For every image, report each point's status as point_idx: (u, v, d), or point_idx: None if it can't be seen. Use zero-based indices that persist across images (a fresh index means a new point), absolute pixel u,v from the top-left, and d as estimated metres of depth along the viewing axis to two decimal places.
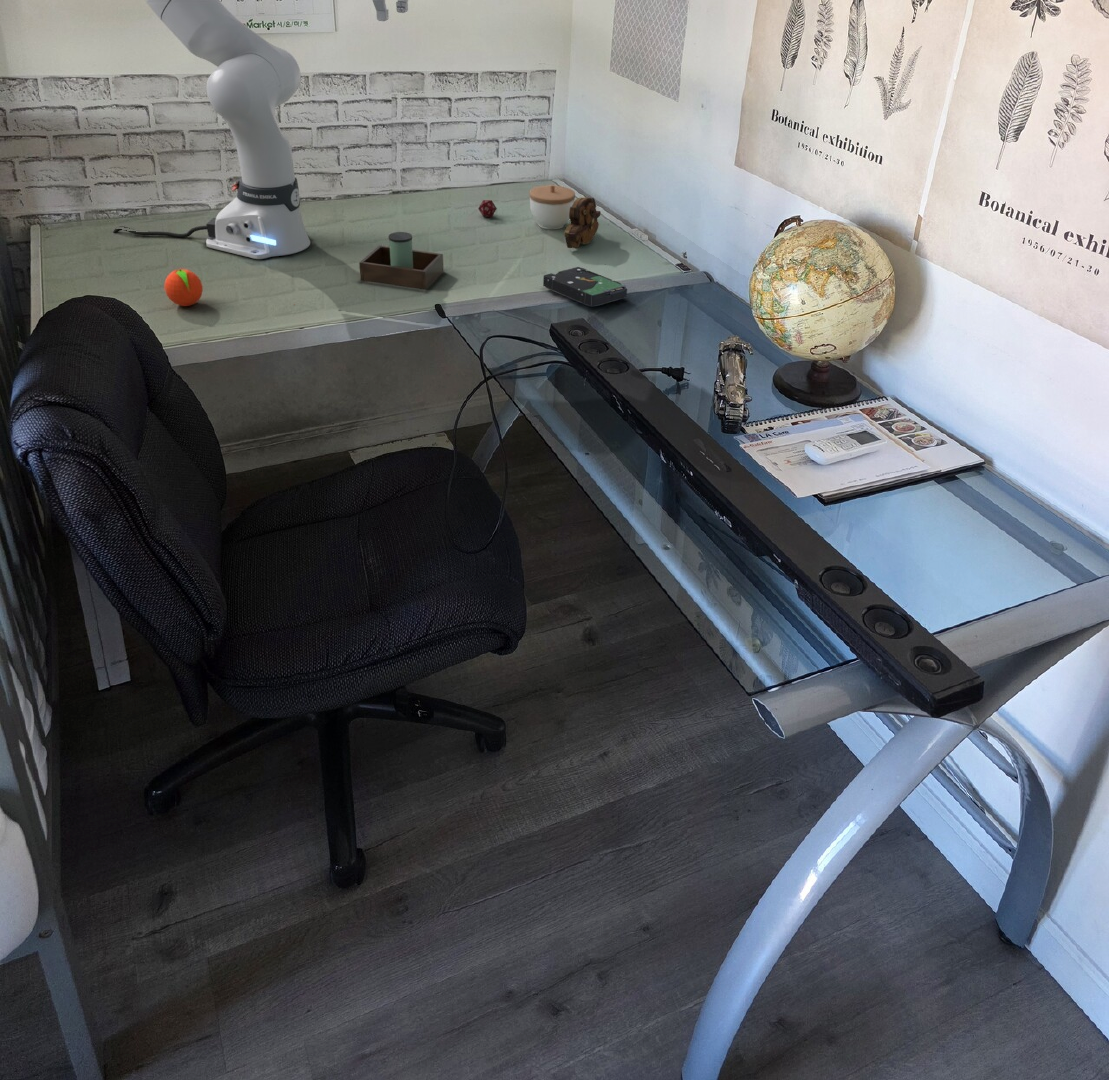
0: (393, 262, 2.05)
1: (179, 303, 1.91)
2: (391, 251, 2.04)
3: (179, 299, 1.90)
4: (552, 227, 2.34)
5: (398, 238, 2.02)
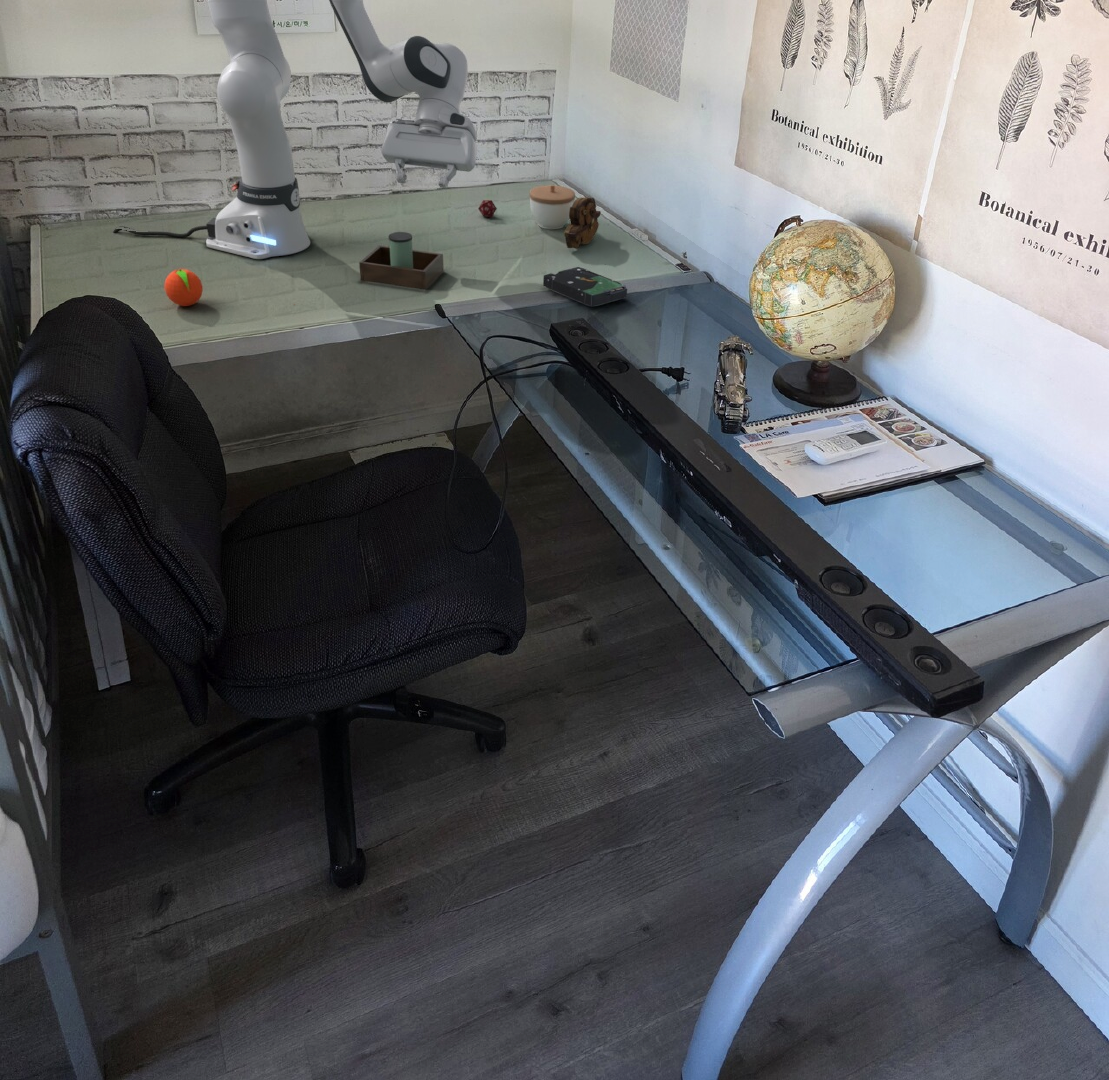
0: (393, 262, 2.05)
1: (179, 303, 1.91)
2: (391, 251, 2.04)
3: (179, 299, 1.90)
4: (552, 227, 2.34)
5: (398, 238, 2.02)
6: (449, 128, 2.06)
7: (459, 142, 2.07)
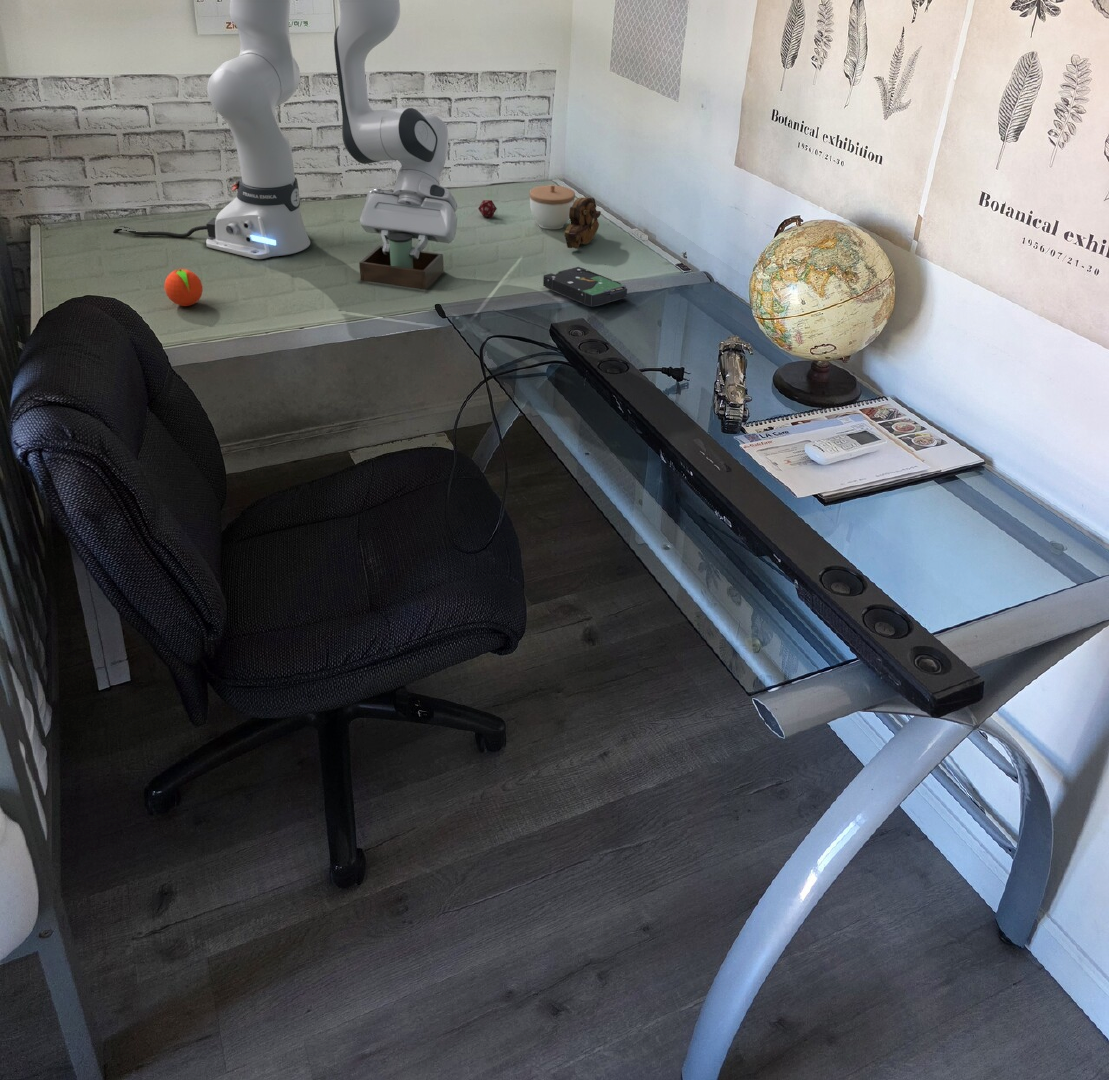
0: (393, 262, 2.05)
1: (179, 303, 1.91)
2: (391, 251, 2.04)
3: (179, 299, 1.90)
4: (552, 227, 2.34)
5: (397, 238, 2.02)
6: (429, 200, 2.03)
7: (439, 214, 2.03)
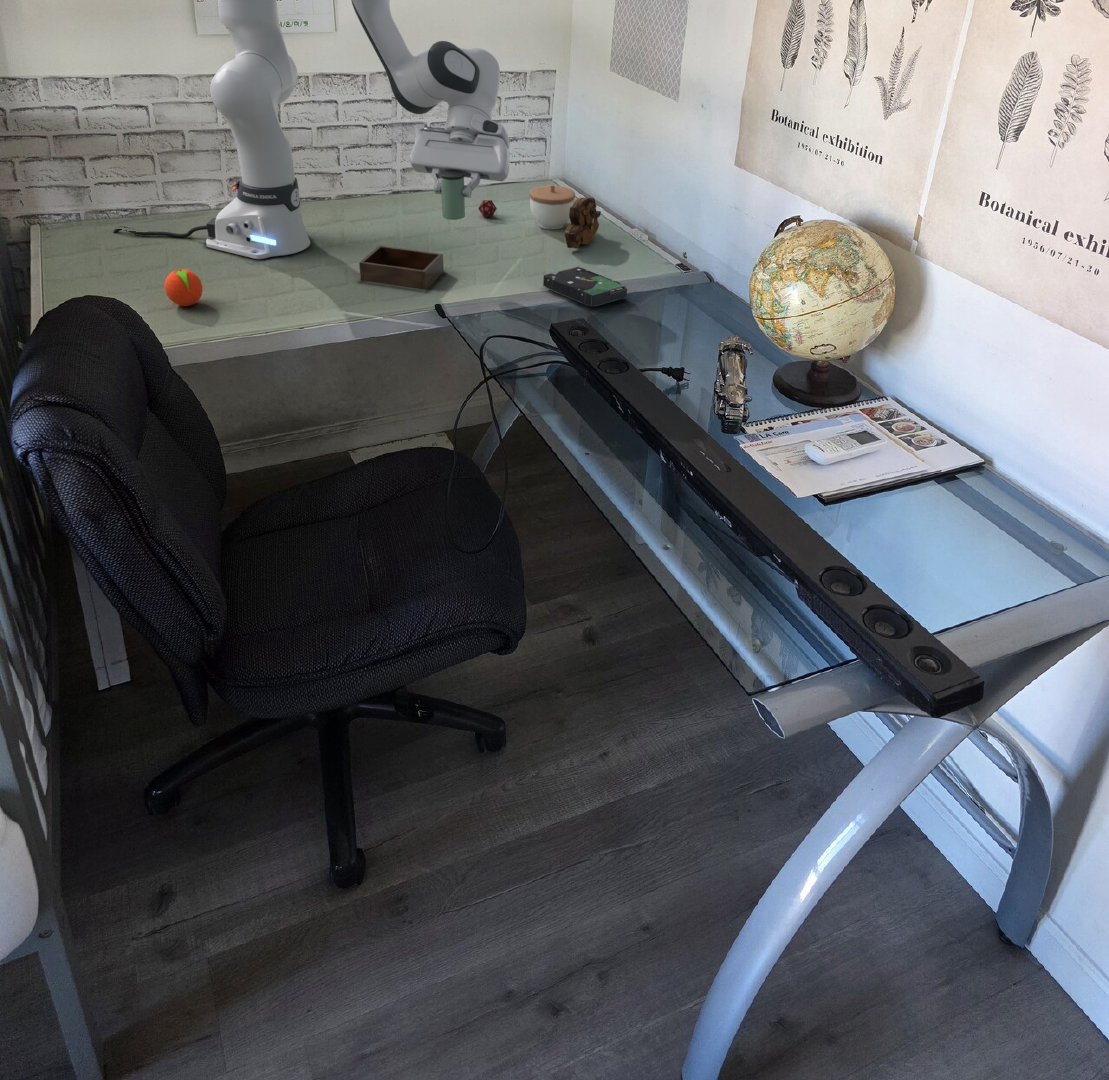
0: (444, 201, 1.99)
1: (179, 303, 1.91)
2: (443, 189, 1.98)
3: (179, 299, 1.90)
4: (552, 227, 2.34)
5: (450, 175, 1.96)
6: (482, 136, 1.97)
7: (492, 150, 1.97)
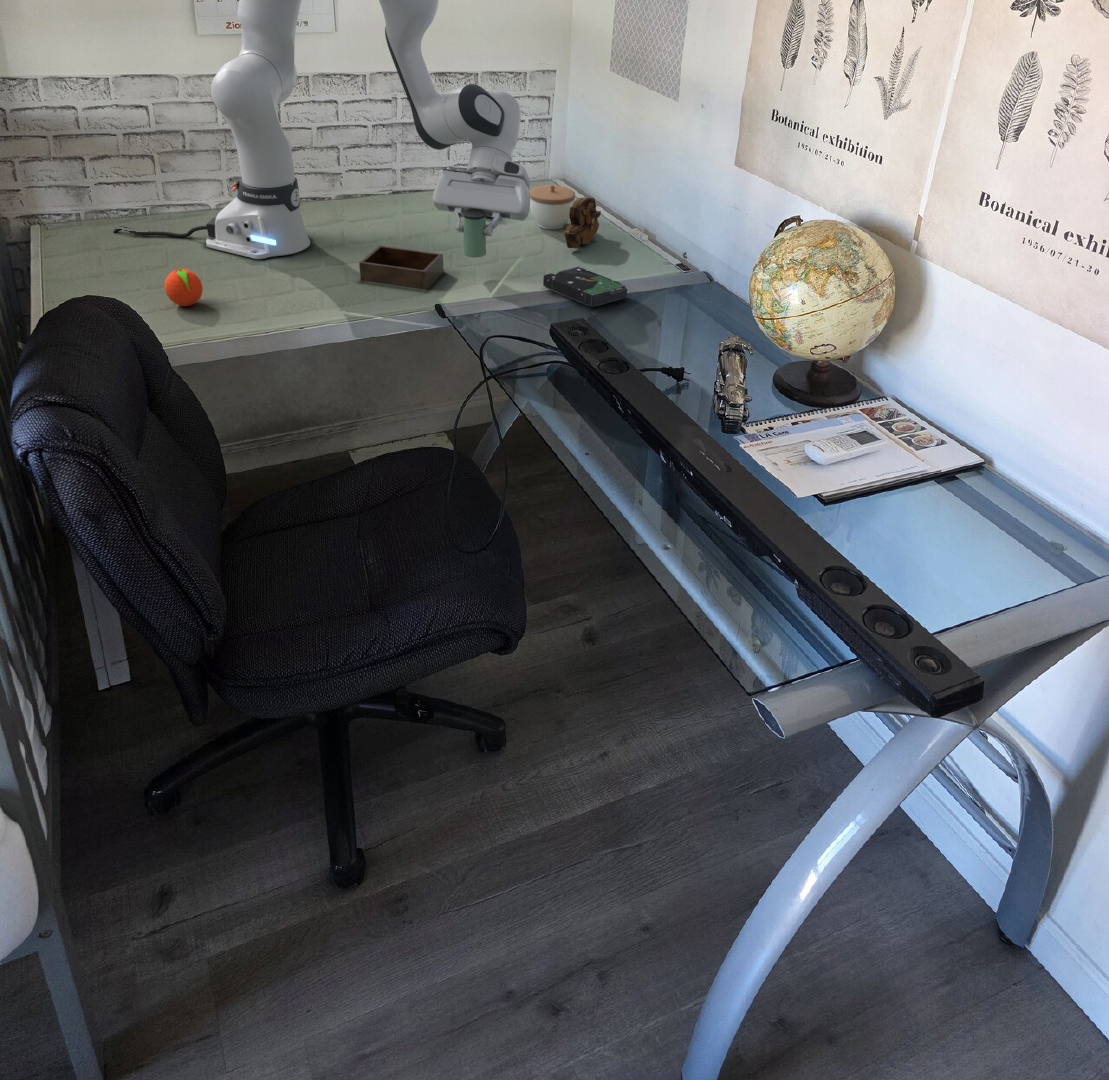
0: (466, 239, 2.04)
1: (179, 303, 1.91)
2: (465, 228, 2.03)
3: (179, 299, 1.90)
4: (552, 227, 2.34)
5: (472, 215, 2.01)
6: (503, 177, 2.02)
7: (513, 191, 2.03)
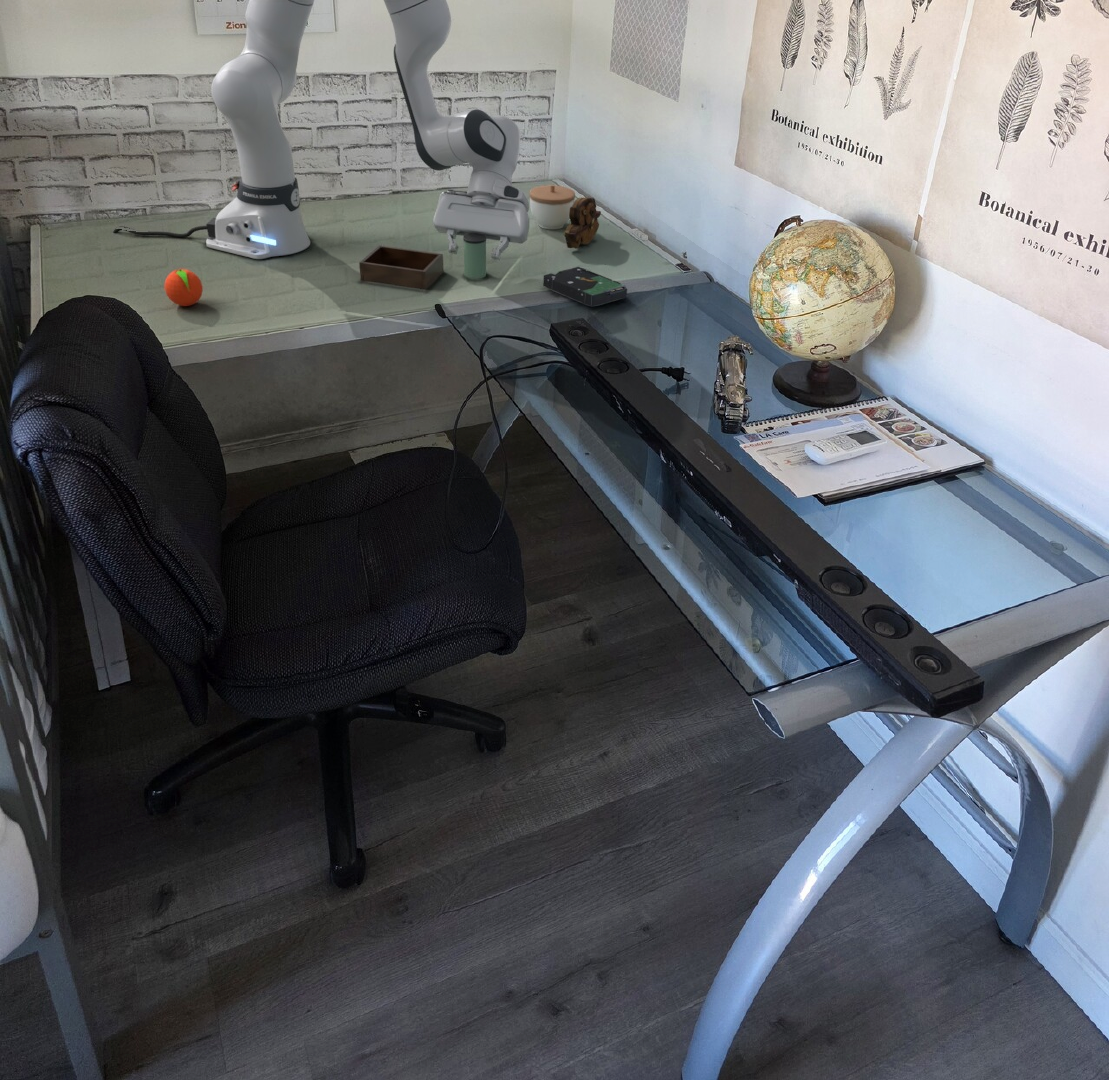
0: (467, 263, 2.07)
1: (179, 303, 1.91)
2: (465, 252, 2.06)
3: (179, 299, 1.90)
4: (552, 227, 2.34)
5: (472, 239, 2.04)
6: (503, 200, 2.05)
7: (512, 214, 2.06)
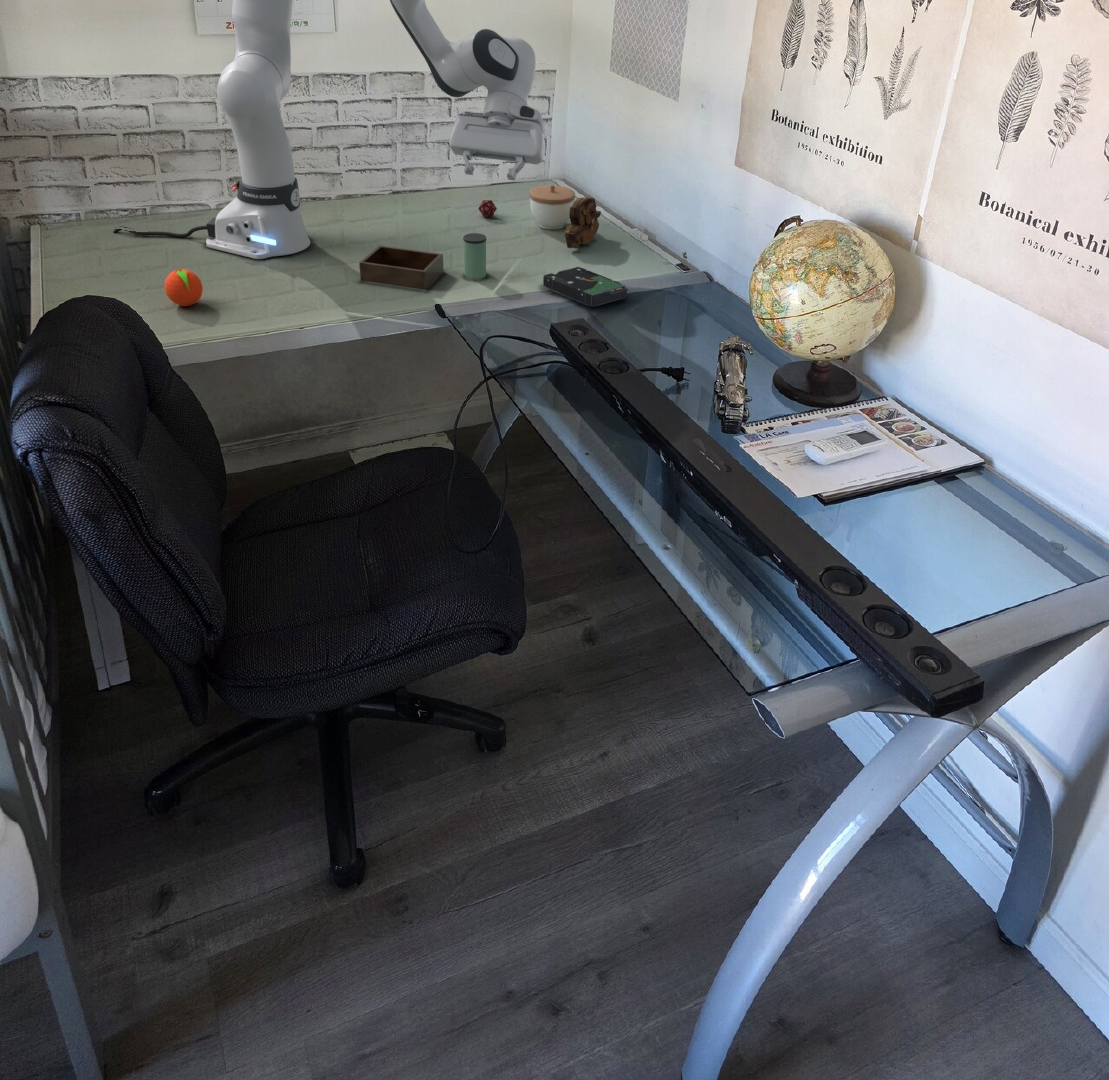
0: (467, 263, 2.07)
1: (179, 303, 1.91)
2: (465, 252, 2.06)
3: (179, 299, 1.90)
4: (552, 227, 2.34)
5: (472, 239, 2.04)
6: (518, 120, 2.07)
7: (528, 135, 2.08)
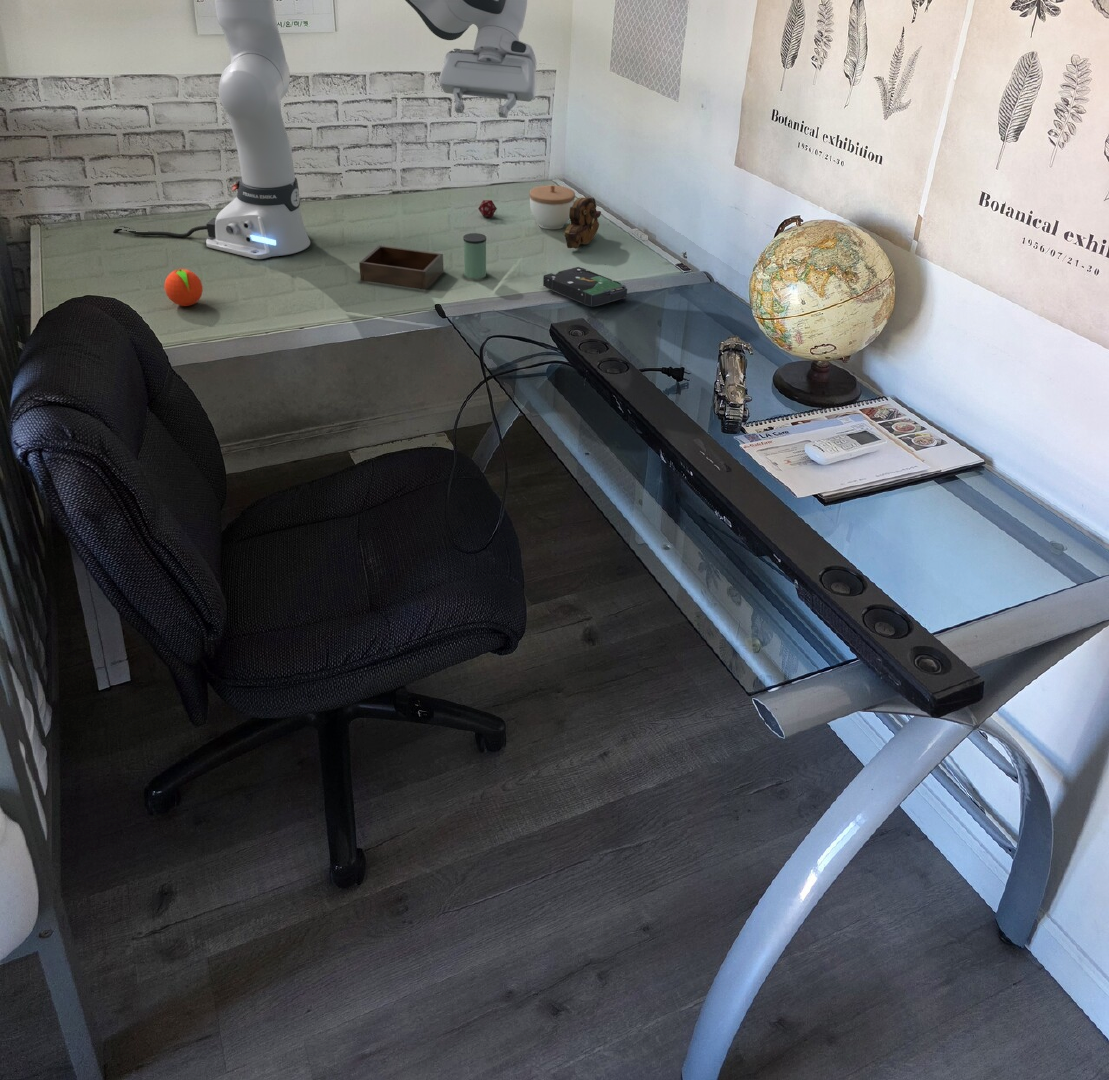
0: (467, 263, 2.07)
1: (179, 303, 1.91)
2: (465, 252, 2.06)
3: (179, 299, 1.90)
4: (552, 227, 2.34)
5: (472, 239, 2.04)
6: (510, 56, 2.02)
7: (520, 70, 2.02)
